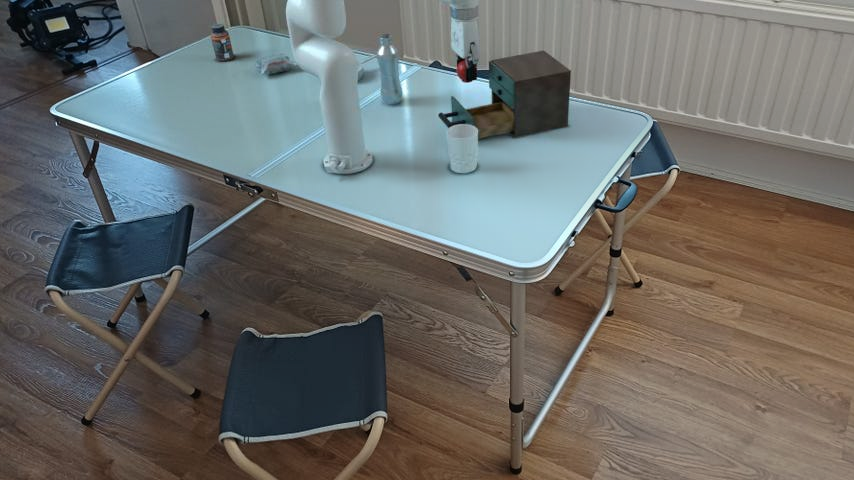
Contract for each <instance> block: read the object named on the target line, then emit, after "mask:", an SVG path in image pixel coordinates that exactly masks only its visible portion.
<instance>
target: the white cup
mask: <svg viewBox="0 0 854 480" xmlns="http://www.w3.org/2000/svg"><path fill="white" fill-rule="evenodd" d="M445 135H446V144H447V145H446V146H447V152H448V159H449V167H450V170H451V171H452V172H454V173H458V174H469V173H472V172H474V171H475V170H476V169H477V167H478V151H479V139H478V129H477V128H476V127H474V126H472V125H468V124H459V125H454V126H451V127H450V128H448V127H447V129H446V131H445Z"/></svg>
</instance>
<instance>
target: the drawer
mask: <svg viewBox="0 0 854 480" xmlns="http://www.w3.org/2000/svg"><path fill="white" fill-rule="evenodd" d="M450 104H451V107H450V108H451V112H447V113H444V112H439V113H438V115H437V117H438V118H439V119H440V120H441V122H442V123H443V124H444V126H445V127H447V129H448V128H450V127H451V126H454V125H459V124H468V125H472V126H474V127H476V128H477V129H478V140H480V139H483V138H489V137H492V136H493V137H494V136H497V135H501V134H506V133H510V132H511V131H514V111H513V110H512V109H511V108H510V107H509V106H508V105H507V104H506V103H505V102H504V101H503V102H498V103H493V104H492V103H489V104H484V105H479V106H474V107H468V108H465V107H464V105H462V104H461V102H459V100H457V98H456V97H455V96H454V95H451V96H450ZM449 118H451V120H449Z"/></svg>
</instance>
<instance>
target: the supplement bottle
mask: <svg viewBox="0 0 854 480" xmlns="http://www.w3.org/2000/svg"><path fill="white" fill-rule="evenodd" d="M211 30H212V31H211V33H210V38H211V43H212V47H213V52H214V55H215V59H216V60H217V61H218V62H228V61H231V60H233V58H235V55H234V50H233V47H232V41H231V37H230V33H229V31H228V30H226V28H225V24H223V23H216V24H215V23H214V24H213V25H211Z"/></svg>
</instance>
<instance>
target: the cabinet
mask: <svg viewBox="0 0 854 480" xmlns="http://www.w3.org/2000/svg"><path fill="white" fill-rule="evenodd" d="M488 74H489V75H488V87H489V89H490V90H491V104H493V103H498V102H503V101H504V102H505V103H506V104H507V105H508V106H509V107H510V108H511V109H512V110H513V111H514V131H511V132H509V133H510V135H512V137H514V138H520V137H524V136H529V135H535V134H538V133H543V132H547V131H552V130H558V129H561V128H566V127H569V111H570V110H569V109H570V96H571V80H572V79H571V78H572V77H571V76H572V70H571V69H570V68H568V67H567V66H566V65H564V64H563V63H562V62H560V60H557V59H556V58H554V57H553V56H552V55H551V54H549V53H548V52H546V50H538V51H534V52H528V53H524V54H516V55H512V56H507V57H501V58H500V57H499V58H496V59H491V60H489V61H488Z"/></svg>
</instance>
